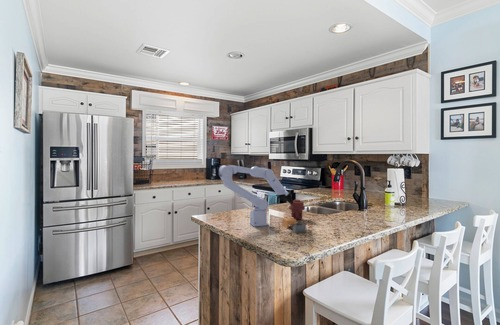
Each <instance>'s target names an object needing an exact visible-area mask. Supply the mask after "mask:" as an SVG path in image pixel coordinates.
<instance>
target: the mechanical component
mask: <svg viewBox="0 0 500 325" xmlns="http://www.w3.org/2000/svg"><path fill="white" fill-rule="evenodd" d="M289 204H290V203H289ZM304 204H305V203H304V201H302V200H300V199H294V200H293V203H292V204H290V205H289V206H288V209H289V210H291V214H290V218H293V219H296V221H297V220H303V211H304V210H306V206H305V205H304Z"/></svg>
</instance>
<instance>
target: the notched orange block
mask: <svg viewBox="0 0 500 325" xmlns="http://www.w3.org/2000/svg"><path fill="white" fill-rule="evenodd" d="M281 220H282V227H284V228H285V229H289V226H293V224H296V223H297V220H296V219H294V218H293V217H283V218H282V219H281Z"/></svg>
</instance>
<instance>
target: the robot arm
mask: <svg viewBox="0 0 500 325" xmlns="http://www.w3.org/2000/svg"><path fill="white" fill-rule="evenodd" d="M237 173H243V174H249V175H250V176H251V177H255V178H261V179H265V180H266V181H267V183H268V184H269V186H270V187H271V189H272V190H274V192H275V197H277V198H279V199H280V200H281V201H283V202H284V203H286V202H288V204H292V203H293V201H294V200H293V197H292V192H291V191H287V186H284V185H283V184H282V183H281V181H280V180H279V179H278V178H277V176H276V175H275V173H274V171H273V170H272V169H270V168H266V167H264V166H263V167H259V166H257V165H255V166H252V167H251V168H250V167H245V166H239V165H225V164H224V165H221V166H220V167H219V169H218V175H219V178H220V179H221V182H222V183H223V186H224V187H225V188H227V189H229V190H230V191H231V192H233V193H235V194H237V195H238V196H240V197H242V198H244V199H245V200H246V201H249V202H250V203H251V204H253V206H254V208H253V209H252V210H251V209H250V213H249V224H250V225H251V226H253V227H254V228H255V227H266V226H270V224H269V223H268V222H267V221H268V220H267V219H268V217H267V215H268V213H267V212H268V210H267V209H268V207H269V202H268V200H267V199H264V198H262V197H261V196H257V195H255V194H254V193H252V192H250V191H248V190H247V189H246V188H243V187H242V186H240V185H238V184H237V183H236V182H234V181H233V175H235V174H237Z"/></svg>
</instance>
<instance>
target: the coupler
mask: <svg viewBox="0 0 500 325" xmlns="http://www.w3.org/2000/svg"><path fill="white" fill-rule="evenodd" d="M289 229H290V230H292V232H293V233H295V234H302V233H306V232H307V230H306V229H307V225H306V224H305V223H304V222H300V221H298V222H297V221H296V224H293V226H291V225H289Z"/></svg>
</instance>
